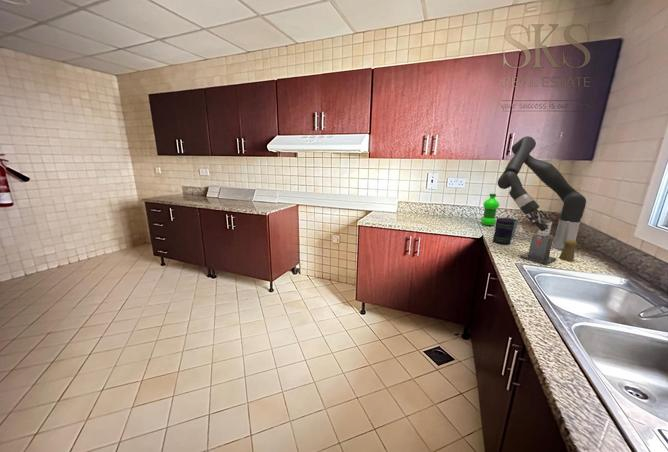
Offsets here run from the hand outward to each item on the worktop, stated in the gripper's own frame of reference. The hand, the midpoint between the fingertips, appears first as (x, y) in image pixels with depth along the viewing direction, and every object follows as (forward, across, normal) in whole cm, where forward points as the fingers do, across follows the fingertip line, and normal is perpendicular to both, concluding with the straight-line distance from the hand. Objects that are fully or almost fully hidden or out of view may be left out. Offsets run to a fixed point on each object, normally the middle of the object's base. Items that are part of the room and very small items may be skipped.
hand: (547, 229), depth 135 cm
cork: (+17, -14, -7) cm, 23 cm away
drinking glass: (-9, -32, -34) cm, 47 cm away
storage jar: (-6, -13, -30) cm, 34 cm away
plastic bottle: (-25, -50, -50) cm, 75 cm away
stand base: (+11, 0, -13) cm, 17 cm away
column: (+10, 0, -12) cm, 15 cm away
